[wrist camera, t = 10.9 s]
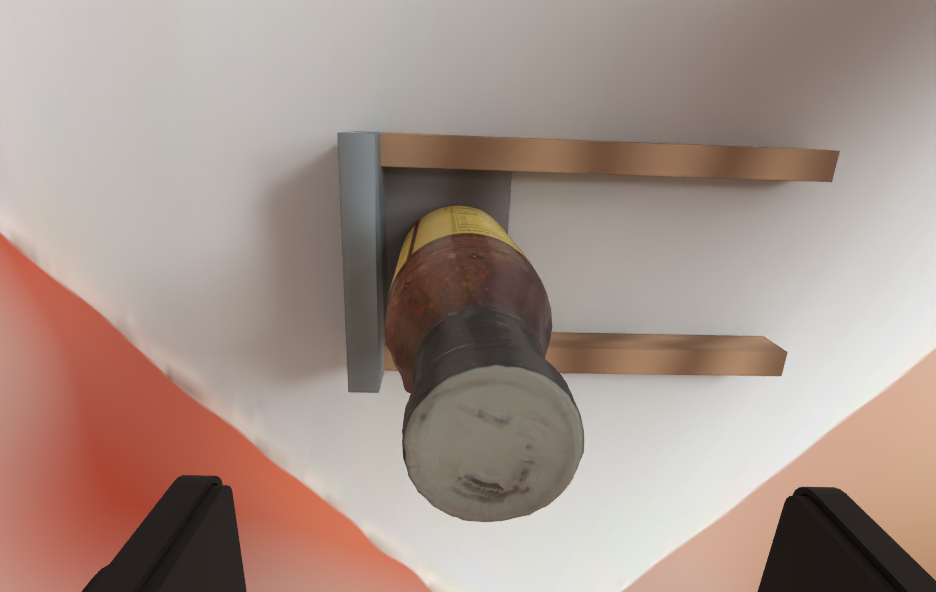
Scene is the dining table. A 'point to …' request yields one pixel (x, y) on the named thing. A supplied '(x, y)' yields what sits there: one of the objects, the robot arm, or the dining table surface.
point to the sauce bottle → (478, 371)
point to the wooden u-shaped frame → (488, 189)
